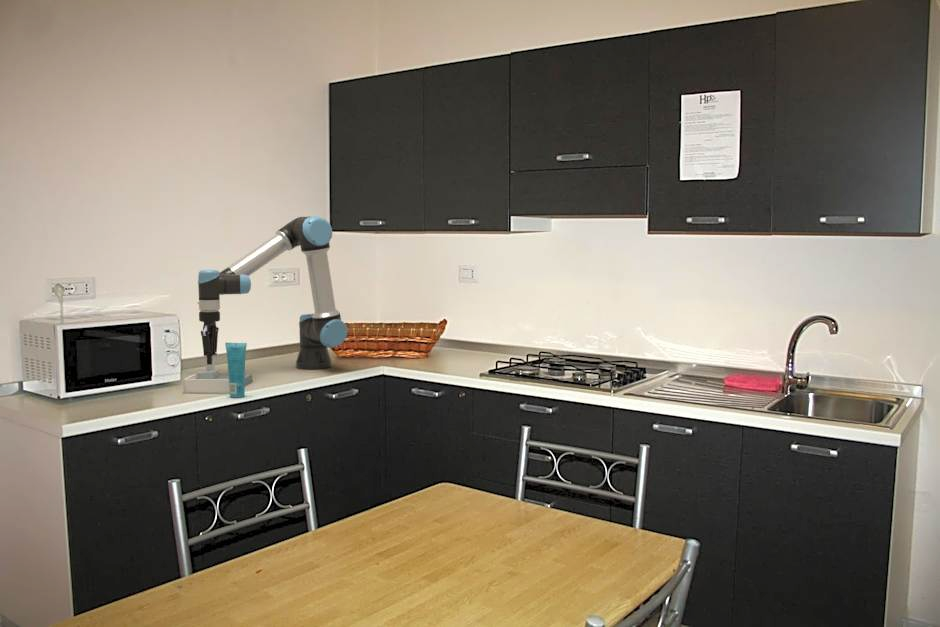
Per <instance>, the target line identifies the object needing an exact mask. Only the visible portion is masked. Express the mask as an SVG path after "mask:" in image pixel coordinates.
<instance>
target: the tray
mask: <svg viewBox="0 0 940 627" xmlns="http://www.w3.org/2000/svg"><path fill="white" fill-rule="evenodd" d="M196 378H197V373H196V374H195V373H194V374H192V375H189V376H187V377H185V378H182V386H183V388H182V389H183V394H217V393H221V394H223V395H224V394H226V395H228V394H229V395H230V387H229V379H196ZM221 394H220V395H221Z"/></svg>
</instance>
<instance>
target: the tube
mask: <svg viewBox="0 0 940 627" xmlns="http://www.w3.org/2000/svg"><path fill="white" fill-rule="evenodd" d="M247 345H248V343H247V342H225V351H226V359H227V370H228V371H227V374H229V387H230V394H229V396H230V398H243V397H245V393H246V392H245V390H246V389H245V387H246V386H245V374H246V372H245V371H246V355H247V354H246V353H247V352H246V351H247Z"/></svg>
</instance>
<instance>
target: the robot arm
mask: <svg viewBox="0 0 940 627" xmlns="http://www.w3.org/2000/svg"><path fill="white" fill-rule="evenodd" d="M332 238H333V228H332V226H331V224H330V223H329V221H328V220H327V219H325V218H323V217H322V216H321V217H320V216H317V215H312V216H311V215H310V216H299V217H296V218H294V219H292V220H291V221H289V222H288V223H286V224H285V225H284V226H282V227H280V229H278V230H277V231H276V232H275V235H274V236H272V237H270V238H269V239H267V240H266V241H265V242H263V243H262V244H260V245H259V246H257V247H256V248H254V249H253V250H251V251H250V252H248V253H247V254H245V255H244V256H242V257H241V258H240V259H238V260H236V261H235V262H234V263H232V264H231V265H229V266H228V267H226V268H225V269H223V270H221V271H219V270H218V269H202V270H200V271H199V272H198V277H197V278H198V279H197V285H198V287H197V288H198V302H197V304H198V310H199V312H198V319H199V322H203V326H202V330H200V336H201V340H202V341H201V342H202V348H203V349H202V350H203V357H205V361H206V362H205V363H206V370H216V365H215V364H216V363H215V362H216V361H215V359H216V357H215V356H217V355H218V339H219V338H218V337H219V336H218V335H219V330H220V329H219V327H218V326H217V323H216V322H219V321H220V320H221V312H220V309H221V303H220V302H221V300H220V296H221V295H222V296H223V295H245V294H249V292H250V291H251V289H252V282H251V279H250V278H251V277H250V276H251V275H253V274H255V272H256V271H258V270H260V269H261V268H262V267H264V266H266V265H267V264H268V263H269V262H271V261H273V260H275V259H276V258H277V257H279V256H280V255H281V254H283V253H284V252H286V251H289V252H290V251H292V250H293V249H295V248H296V247H299V246H300V250H301V253H303V254H304V255H305V258H306V264H307V271H308V272H307V273H308V278H309V283H310V289H311V295H312V302H313V307H314V308H313V309H314V313H304V314H301V315H300V316H299V322H298V324H299V350H298V351H299V352H298V354H297V357H296V361H295V368H296V369H302V370H323V369H329V368H332V366H333V365H332V363H333V362H332V359H331V355H330V353H329V350H328V348H335V347H338V346H340V345H342V344H343V343H344V342H345V340H346V339H347V336H348V327H347V325H346V323H345V322H344V321H343V320H342V318H341V316H342V315H341V312H340V311H339V310H338V309H337V308H336V303H335V296H334V290H333V282H332V277H331V272H330V271H331V270H330V265H329V257H328V251H329V250H330V248H331V246H330V241H331V239H332Z"/></svg>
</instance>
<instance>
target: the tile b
mask: <svg viewBox="0 0 940 627" xmlns="http://www.w3.org/2000/svg"><path fill="white" fill-rule="evenodd" d="M218 374H219V369H215V370H207V369H201V370H200V371H197V372H196V378H197V379H215V378H217V377H219V376H218Z"/></svg>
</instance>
